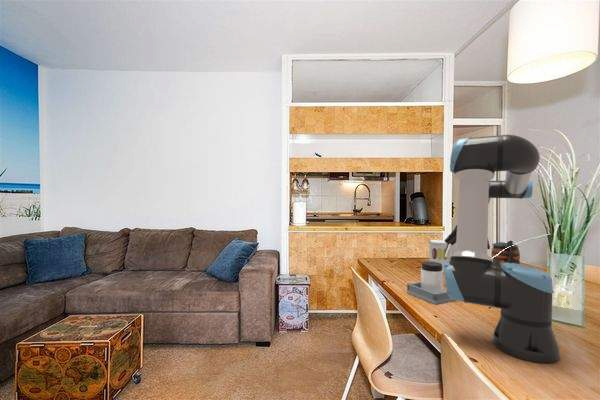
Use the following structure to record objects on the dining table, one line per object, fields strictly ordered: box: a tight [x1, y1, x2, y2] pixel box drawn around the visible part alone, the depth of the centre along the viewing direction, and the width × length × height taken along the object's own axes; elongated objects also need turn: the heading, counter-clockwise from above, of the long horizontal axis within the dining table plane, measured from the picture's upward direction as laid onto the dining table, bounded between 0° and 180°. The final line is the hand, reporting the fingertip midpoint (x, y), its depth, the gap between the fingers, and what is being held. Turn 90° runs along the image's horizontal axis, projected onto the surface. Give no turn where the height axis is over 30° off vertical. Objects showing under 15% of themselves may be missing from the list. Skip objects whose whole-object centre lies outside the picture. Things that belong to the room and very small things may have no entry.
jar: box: [420, 260, 444, 293], centre depth 132 cm, size 9×8×12 cm
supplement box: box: [428, 239, 450, 274], centre depth 173 cm, size 10×9×17 cm
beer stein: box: [490, 240, 521, 268], centre depth 162 cm, size 19×15×20 cm
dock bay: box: [406, 281, 455, 305], centre depth 130 cm, size 15×14×4 cm
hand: (460, 260), depth 135 cm, fingers open, 13 cm apart
